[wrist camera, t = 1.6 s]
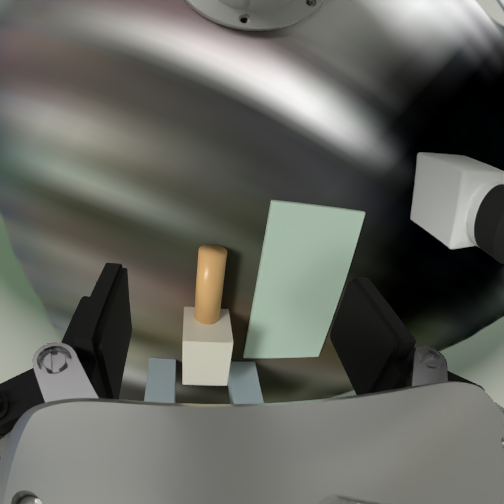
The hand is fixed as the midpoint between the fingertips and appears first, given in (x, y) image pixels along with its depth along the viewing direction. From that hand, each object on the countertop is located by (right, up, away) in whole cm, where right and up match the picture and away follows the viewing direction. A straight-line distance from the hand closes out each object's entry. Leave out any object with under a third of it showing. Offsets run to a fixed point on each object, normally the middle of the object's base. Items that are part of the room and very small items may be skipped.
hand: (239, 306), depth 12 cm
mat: (+5, -2, +20) cm, 21 cm away
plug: (-4, -3, +19) cm, 20 cm away
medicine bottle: (+20, +9, +17) cm, 28 cm away
